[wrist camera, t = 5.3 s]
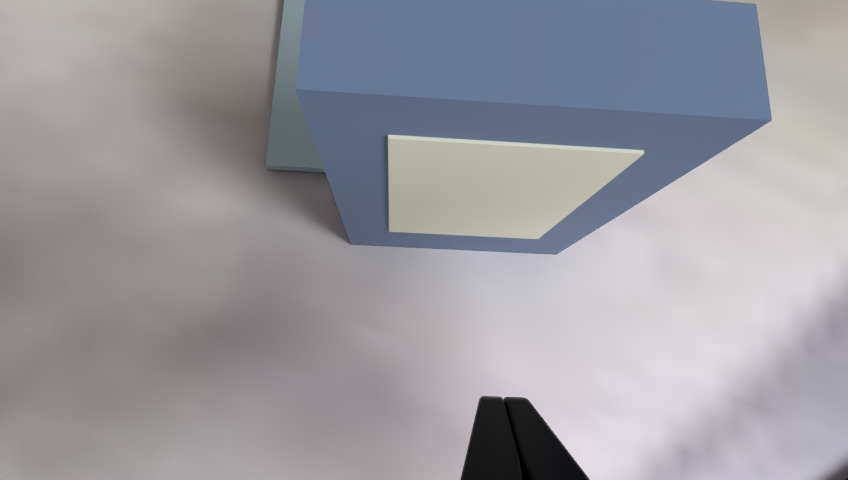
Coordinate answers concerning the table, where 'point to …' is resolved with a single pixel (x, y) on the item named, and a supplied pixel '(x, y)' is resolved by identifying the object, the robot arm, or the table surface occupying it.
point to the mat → (290, 103)
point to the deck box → (519, 111)
